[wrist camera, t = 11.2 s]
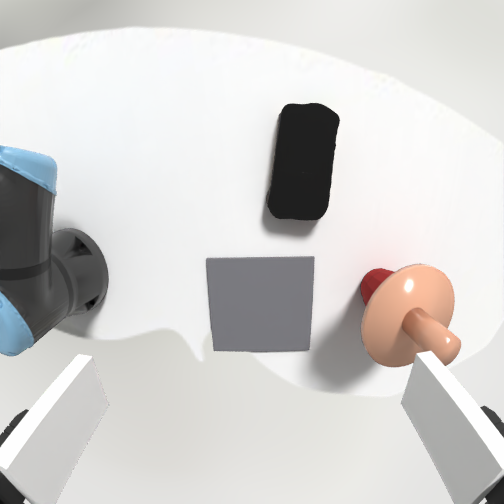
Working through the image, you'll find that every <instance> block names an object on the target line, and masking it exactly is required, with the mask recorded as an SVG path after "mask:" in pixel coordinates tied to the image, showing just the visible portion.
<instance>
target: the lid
mask: <svg viewBox="0 0 504 504" xmlns="http://www.w3.org/2000/svg"><path fill="white" fill-rule="evenodd" d="M453 310H454V291H453V287H452V284H451V282H450V280H449V279H448V277H447V276H446V275H445V274H444V273H443V272H441V271H440V270H438V269H436V268H434V267H432V266H430V265H426V264H414V265H409V266H406V267H404V268H401V269H399V270H398V271H396V272H394V273H393V274H391V275H390V276H389V277H388V278H386V279H385V280H384V281H383V282H382V283H381V284H380V286H379V287H378V288H377V289H376V290H375V292H374V293H373V295H372V296H371V298H370V300H369V302H368V304H367V306H366V308H365V311H364V314H363V318H362V323H361V337H362V342H363V345H364V347H365V349H366V350H367V352H368V353H369V355H370V356H371V357H372V358H373V360H375V361H376V362H377V363H379V364H381V365H383V366H387V367H401V366H406V365H409V364H411V363H414V360H415V357H416V353H421V352H427V351H432V352H433V353H434V355H435V356H436V357H437V358H438V359H439V360H440V361H441V362H442V364H443V365H444V366H446V365H448V364H450V363H451V362H452V361H453V360H454V359H455V358H456V356H457V355H458V353H459V351H460V348H461V341H460V339H459V338H458V337H456V336H455V335H454V334H453V333H452V332H450V331H449V330H448V329H447V328H448V326H449V324H450V321H451V319H452V315H453Z"/></svg>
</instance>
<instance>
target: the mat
mask: <svg viewBox="0 0 504 504" xmlns="http://www.w3.org/2000/svg"><path fill="white" fill-rule="evenodd" d="M206 261H207V276H208V290H209V303H210V315H211V327H212V338H213V347H214V351H296V350H309V347H310V334H311V319H312V302H313V281H314V256H311V257H246V258H207V259H206Z"/></svg>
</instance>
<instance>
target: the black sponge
mask: <svg viewBox="0 0 504 504" xmlns="http://www.w3.org/2000/svg"><path fill="white" fill-rule="evenodd" d="M339 122H340V119H339V116H338V115H337V114H336V113H335V112H334V111H332V110H331V109H329V108H328V107H326V106H324V105H322V104H319V103H309V104H287V105H286V106H284V108H283V109H282V112H281V113H280V114H279V127H278V134H277V142H276V148H275V156H274V164H273V171H272V179H271V186H270V189H269V191H268V194H267V197H266V201H267V204H268V208H269V210H270V212H271V213H272V215H273V216H275V217H276V218H279V219H297V220H318V219H320V218H321V217H322V216H323V215H324V214H325V212H326V210H327V208H328V204H329V197H330V188H331V178H332V170H333V160H334V151H335V147H336V143H335V142H336V135H337V130H338V126H339Z"/></svg>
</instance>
